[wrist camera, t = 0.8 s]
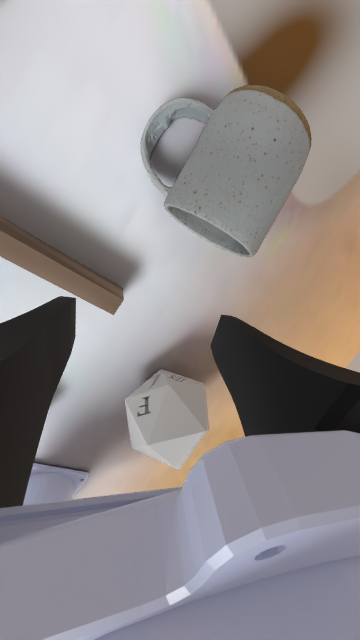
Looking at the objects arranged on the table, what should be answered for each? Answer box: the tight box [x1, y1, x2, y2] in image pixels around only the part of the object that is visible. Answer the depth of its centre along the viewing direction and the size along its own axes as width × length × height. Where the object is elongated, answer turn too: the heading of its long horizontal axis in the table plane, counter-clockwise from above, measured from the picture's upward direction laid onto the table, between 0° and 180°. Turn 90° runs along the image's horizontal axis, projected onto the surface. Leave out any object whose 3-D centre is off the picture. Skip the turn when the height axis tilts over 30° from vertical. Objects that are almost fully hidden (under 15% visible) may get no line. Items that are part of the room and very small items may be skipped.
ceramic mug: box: [141, 85, 311, 257], centre depth 15 cm, size 10×8×7 cm
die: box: [125, 369, 209, 470], centre depth 23 cm, size 8×9×10 cm
